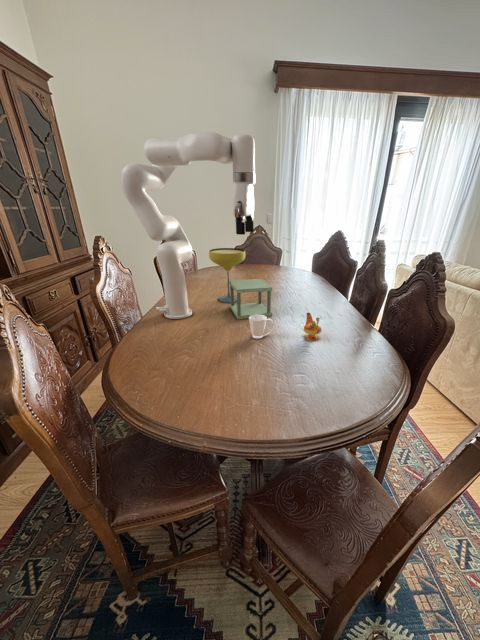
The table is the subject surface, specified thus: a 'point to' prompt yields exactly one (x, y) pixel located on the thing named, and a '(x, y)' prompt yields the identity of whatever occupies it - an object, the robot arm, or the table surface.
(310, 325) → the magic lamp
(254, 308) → the shelf
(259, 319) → the cup
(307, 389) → the table surface
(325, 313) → the table surface
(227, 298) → the cocktail glass
